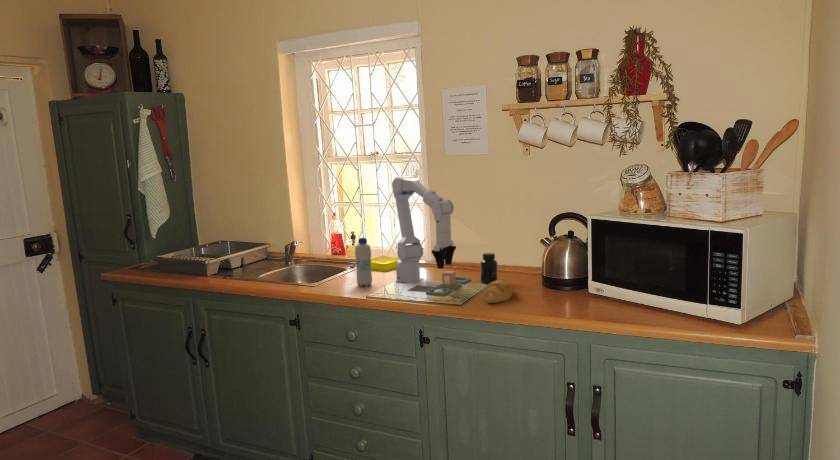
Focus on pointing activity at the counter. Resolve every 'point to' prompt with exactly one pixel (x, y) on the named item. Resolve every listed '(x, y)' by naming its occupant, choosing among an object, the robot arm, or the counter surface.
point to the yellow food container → (384, 263)
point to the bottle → (363, 263)
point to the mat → (421, 288)
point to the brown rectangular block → (449, 278)
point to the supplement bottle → (488, 268)
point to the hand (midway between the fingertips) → (444, 266)
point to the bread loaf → (498, 291)
